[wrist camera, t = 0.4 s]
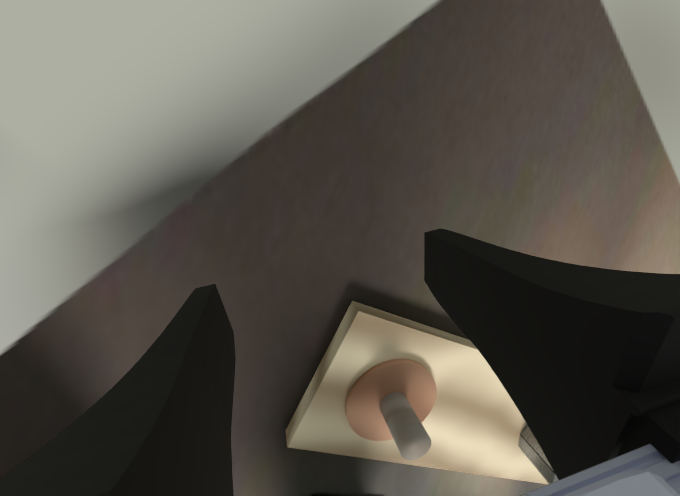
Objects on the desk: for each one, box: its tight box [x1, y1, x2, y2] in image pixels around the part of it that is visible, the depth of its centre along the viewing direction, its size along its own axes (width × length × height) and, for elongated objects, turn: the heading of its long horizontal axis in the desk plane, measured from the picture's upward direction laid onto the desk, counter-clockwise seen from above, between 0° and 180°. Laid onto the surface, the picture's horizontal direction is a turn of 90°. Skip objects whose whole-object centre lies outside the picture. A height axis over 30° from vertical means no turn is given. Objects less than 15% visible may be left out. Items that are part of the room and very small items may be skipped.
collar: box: [518, 425, 558, 484], centre depth 31 cm, size 5×5×4 cm
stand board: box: [286, 301, 549, 484], centre depth 28 cm, size 12×30×6 cm, turn 63°
